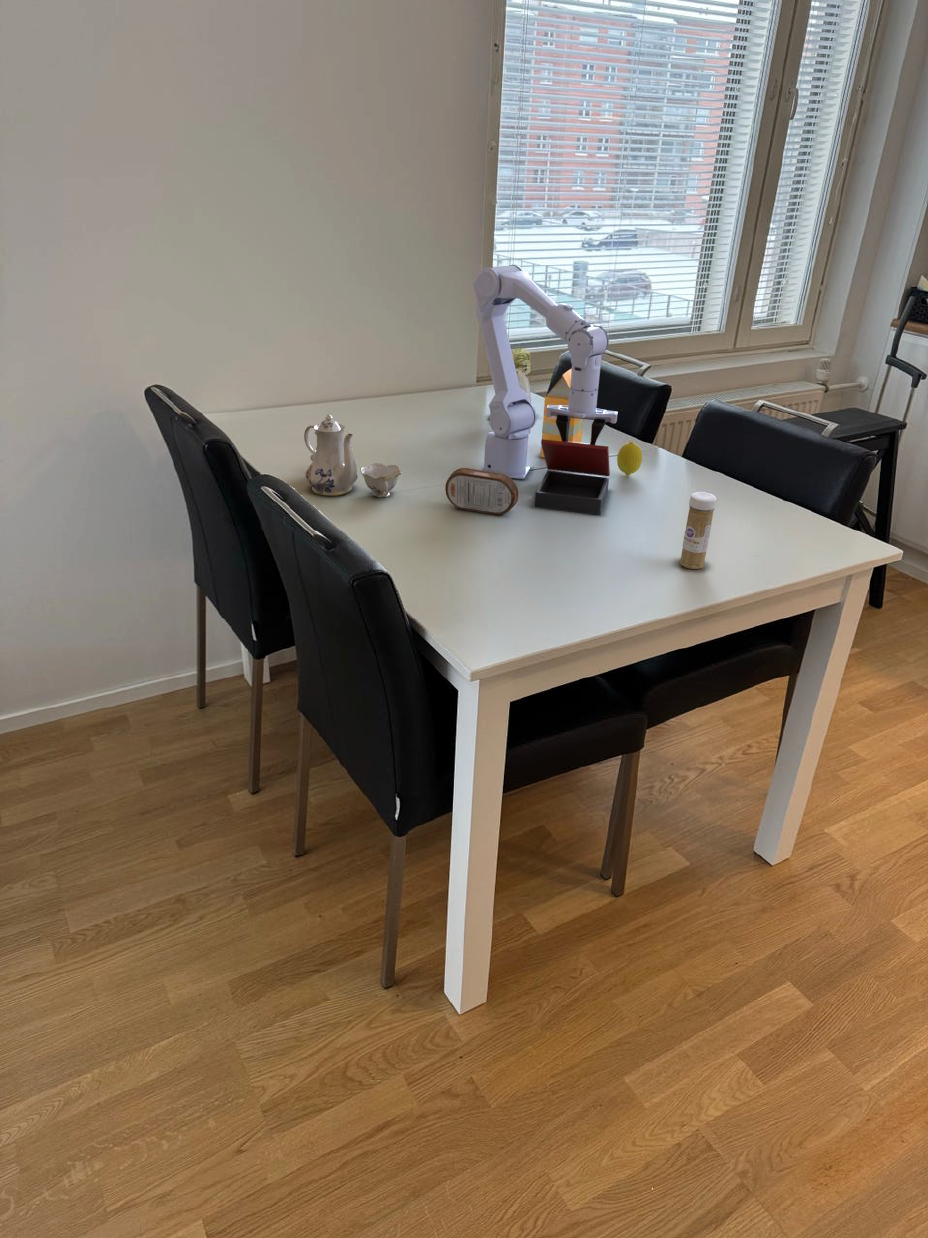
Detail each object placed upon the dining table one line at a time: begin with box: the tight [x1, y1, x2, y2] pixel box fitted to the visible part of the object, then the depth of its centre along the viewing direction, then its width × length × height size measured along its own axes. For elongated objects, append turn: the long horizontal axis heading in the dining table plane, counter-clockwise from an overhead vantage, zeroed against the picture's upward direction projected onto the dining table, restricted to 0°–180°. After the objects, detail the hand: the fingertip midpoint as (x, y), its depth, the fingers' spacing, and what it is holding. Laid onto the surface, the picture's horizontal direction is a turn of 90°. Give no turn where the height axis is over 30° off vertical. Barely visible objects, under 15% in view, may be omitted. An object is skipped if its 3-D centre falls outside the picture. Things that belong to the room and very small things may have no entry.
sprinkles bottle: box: [679, 491, 718, 570], centre depth 164 cm, size 5×5×14 cm
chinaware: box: [303, 413, 403, 498], centre depth 193 cm, size 28×17×17 cm, turn 47°
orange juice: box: [539, 367, 585, 459], centre depth 216 cm, size 8×9×20 cm
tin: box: [444, 467, 519, 516], centre depth 185 cm, size 15×3×8 cm, turn 71°
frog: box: [508, 348, 539, 417], centre depth 242 cm, size 12×13×18 cm
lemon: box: [616, 441, 643, 477], centre depth 207 cm, size 6×6×8 cm
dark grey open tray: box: [533, 469, 610, 516], centre depth 194 cm, size 15×14×3 cm
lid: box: [540, 438, 611, 477], centre depth 192 cm, size 15×14×4 cm
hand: (577, 452), depth 193 cm, fingers closed on lid, 5 cm apart
